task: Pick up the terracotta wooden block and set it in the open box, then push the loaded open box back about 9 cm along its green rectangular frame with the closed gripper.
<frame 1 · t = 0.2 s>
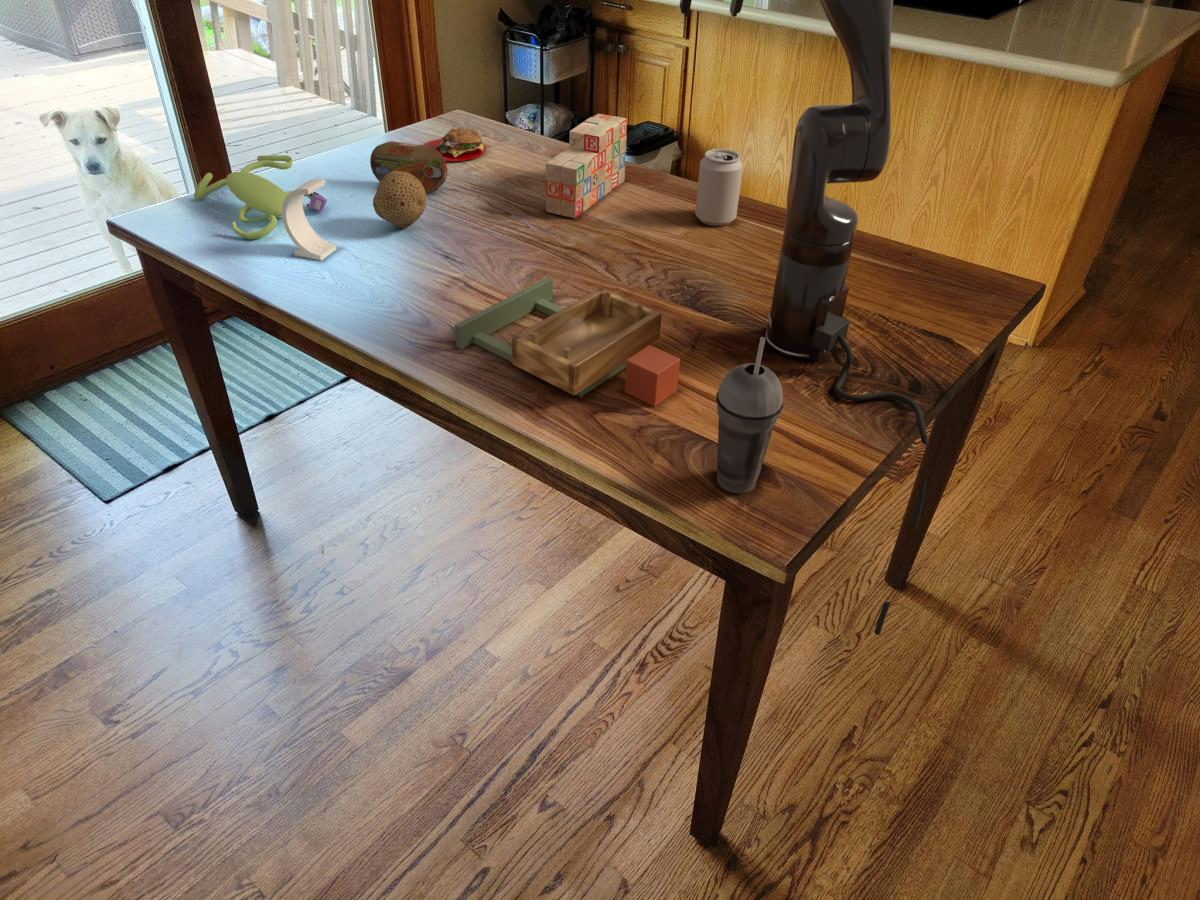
hand: (709, 14, 149), 31 cm above the table, tool tilted 20°, fingers open, 8 cm apart
open box: (588, 335, 118), point 4 cm above the table, slide at 0.0 cm
block: (650, 391, 115), on the table
green rectangular frame: (558, 346, 123), on the table
hamburger: (453, 151, 183), on the table
can: (715, 220, 159), on the table
tin: (411, 188, 167), on the table
beverage cup: (736, 482, 102), on the table
figurine: (263, 207, 158), on the table
stack of blocks: (586, 197, 166), on the table
natural sponge: (404, 229, 153), on the table
headphone stand: (313, 252, 145), on the table
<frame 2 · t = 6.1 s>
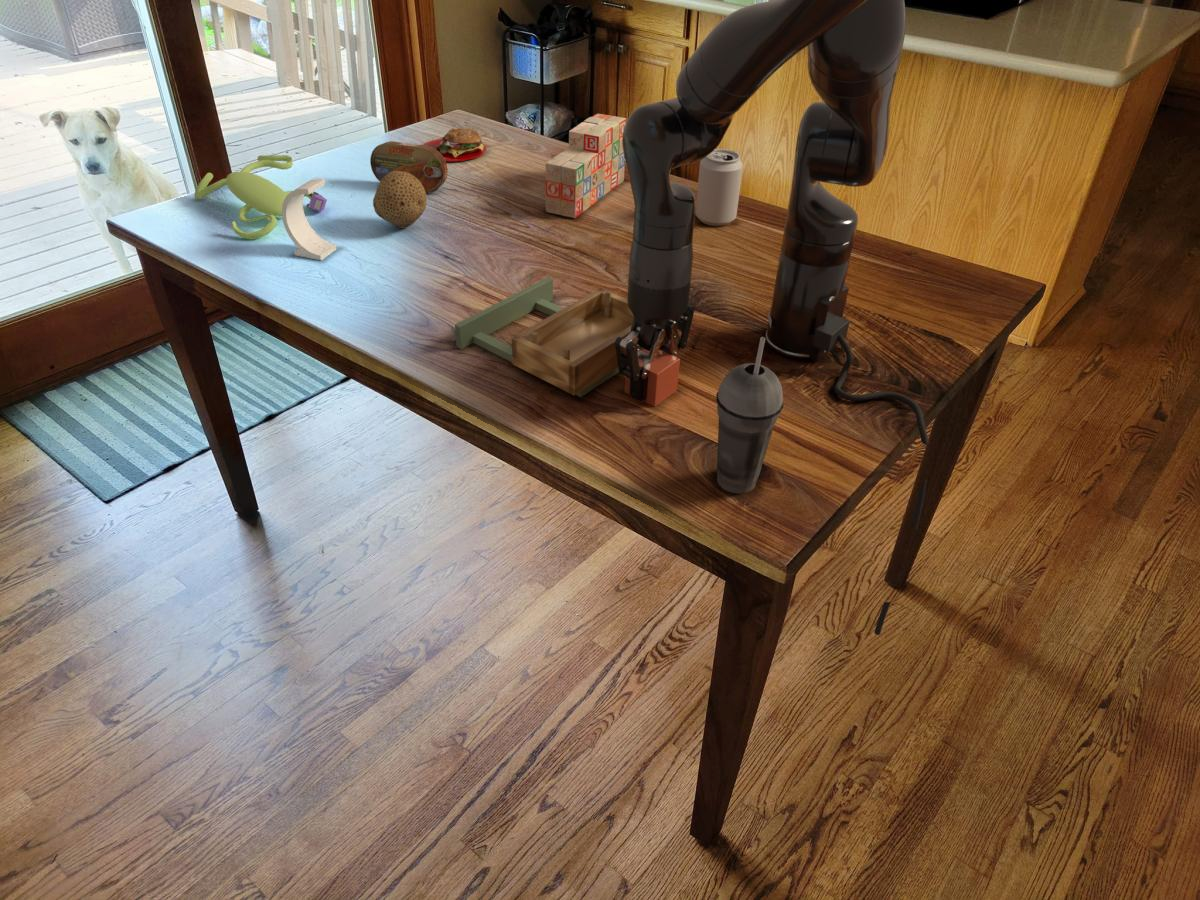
hand: (651, 388, 115), 0 cm above the table, tool pointing down, fingers closed on block, 5 cm apart
block: (650, 391, 115), on the table, touching gripper
everything else where it was.
when the fingers open (3 cm above the table, at t = 13.0 s): block stays where it is, resting on open box.
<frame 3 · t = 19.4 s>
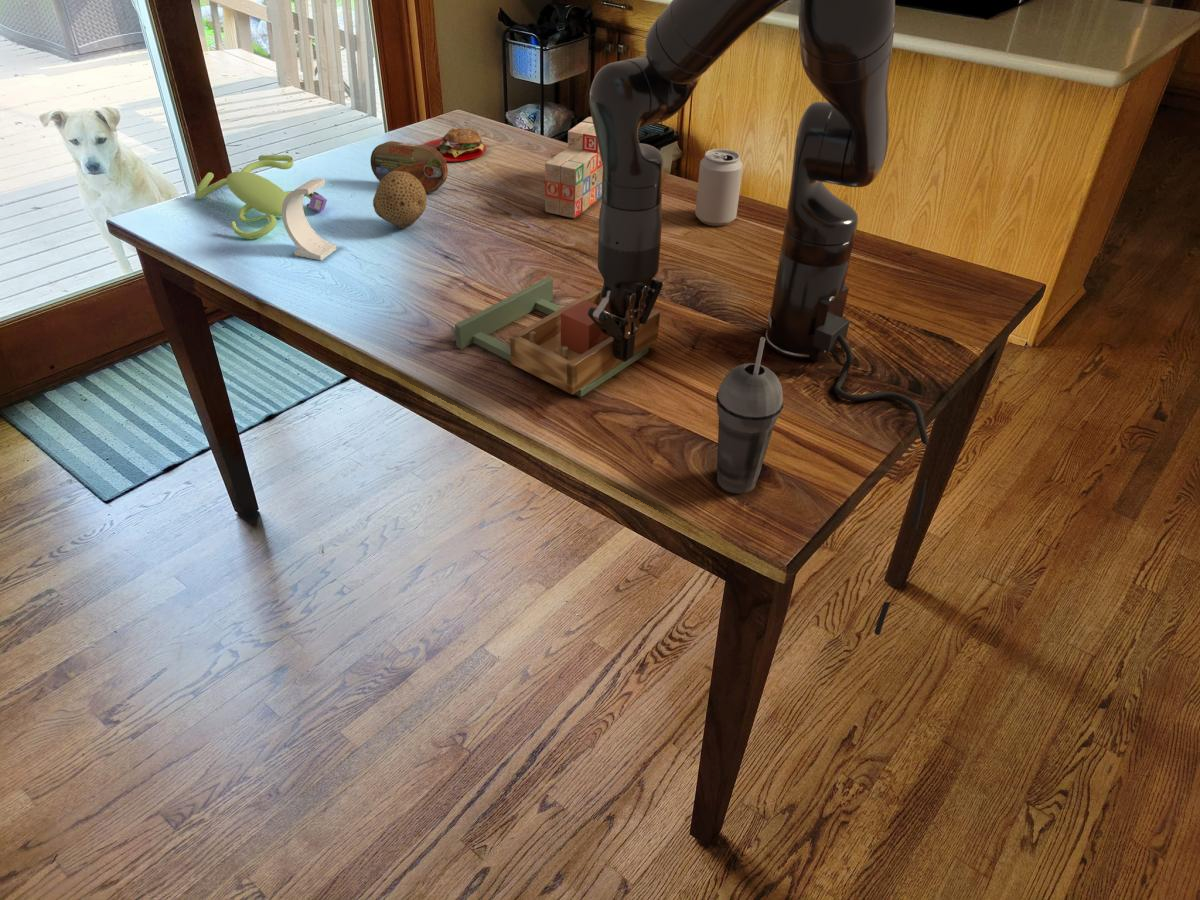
hand: (623, 357, 115), 3 cm above the table, tool pointing down, fingers closed
open box: (586, 334, 118), point 4 cm above the table, slide at 0.3 cm, touching block, gripper
block: (586, 344, 119), point 3 cm above the table, touching open box
everything else where it was.
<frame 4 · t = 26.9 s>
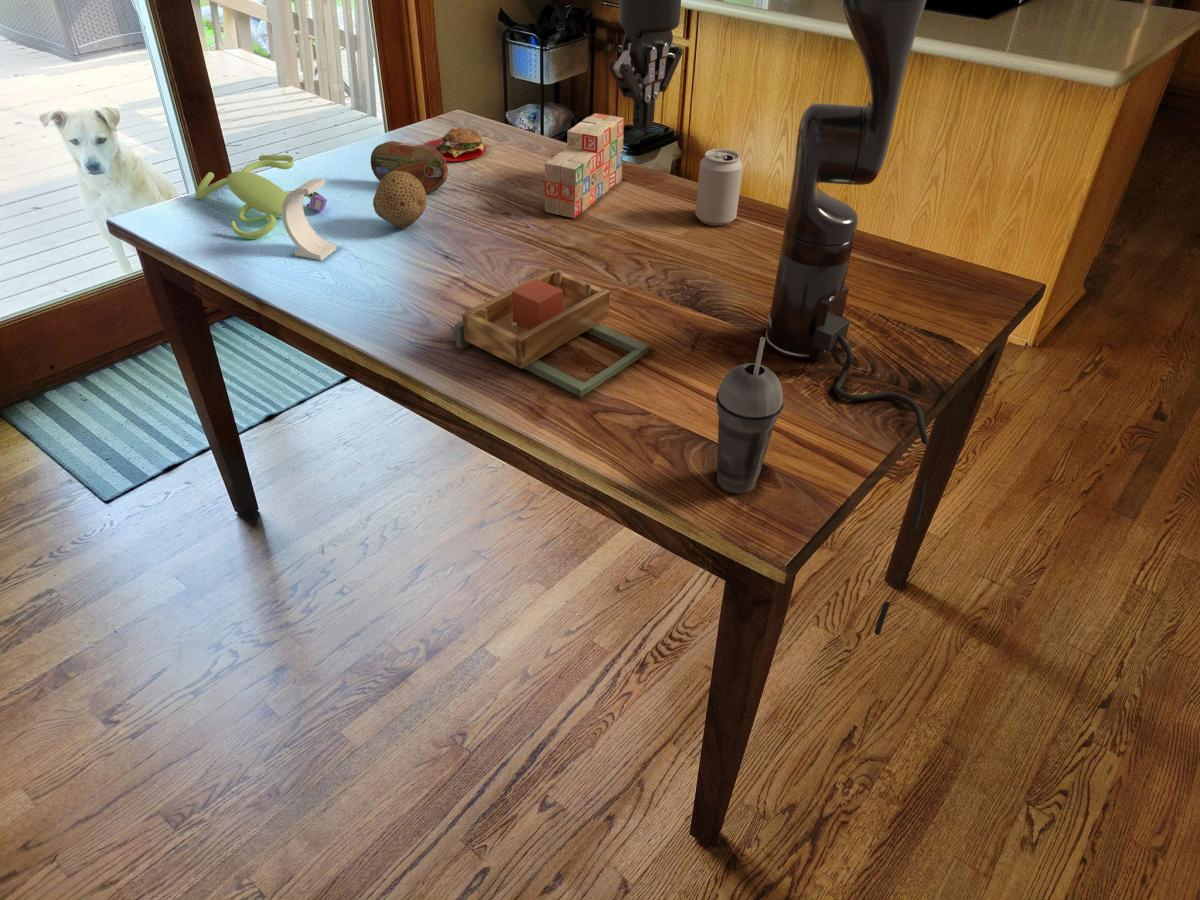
hand: (643, 128, 116), 27 cm above the table, tool pointing down, fingers closed
open box: (537, 312, 123), point 4 cm above the table, slide at 9.3 cm, touching block
block: (537, 321, 123), point 3 cm above the table, touching open box
everything else where it was.
at the end: open box slide at 9.3 cm; block inside the target area on the open box (0.2 cm from its centre), point 2.7 cm above the open box's base; block tilted 0° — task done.
